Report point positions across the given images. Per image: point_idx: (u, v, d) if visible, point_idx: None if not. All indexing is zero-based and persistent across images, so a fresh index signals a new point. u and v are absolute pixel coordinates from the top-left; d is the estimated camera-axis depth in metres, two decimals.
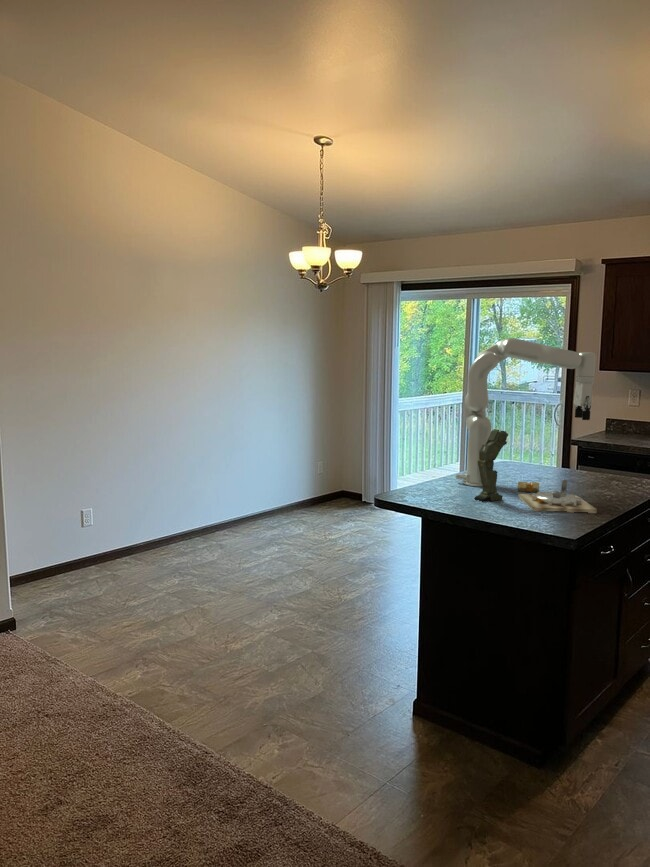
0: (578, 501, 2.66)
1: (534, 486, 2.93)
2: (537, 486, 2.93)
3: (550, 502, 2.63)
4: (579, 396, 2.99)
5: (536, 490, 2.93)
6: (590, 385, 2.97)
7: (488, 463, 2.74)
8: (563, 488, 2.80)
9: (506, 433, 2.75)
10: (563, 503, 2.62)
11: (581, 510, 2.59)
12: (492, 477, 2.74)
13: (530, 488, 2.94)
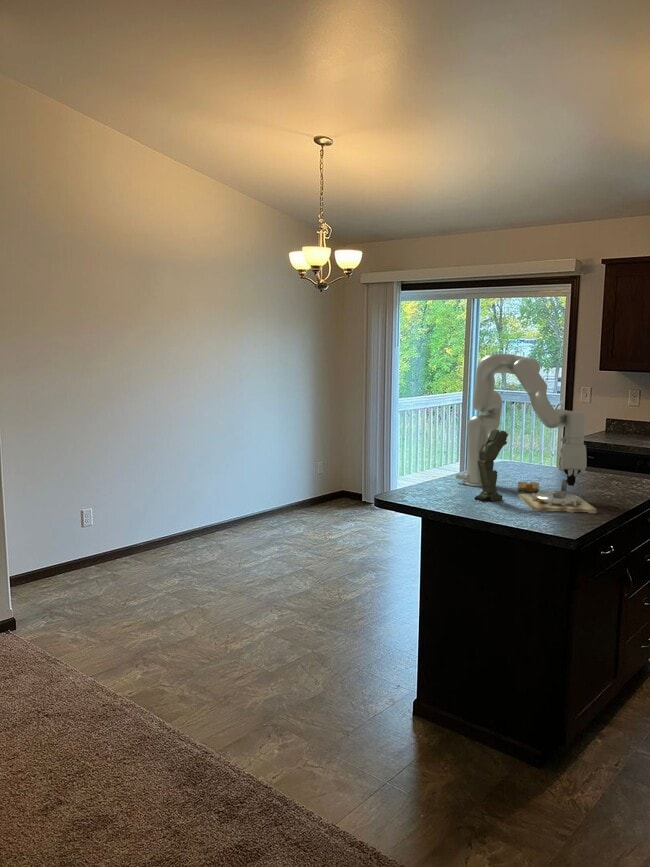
0: (578, 501, 2.66)
1: (534, 486, 2.93)
2: (537, 486, 2.93)
3: (550, 502, 2.63)
4: (581, 459, 2.77)
5: (536, 490, 2.93)
6: None
7: (488, 463, 2.74)
8: (563, 488, 2.80)
9: (506, 433, 2.75)
10: (563, 503, 2.62)
11: (581, 510, 2.59)
12: (492, 477, 2.74)
13: (530, 488, 2.94)
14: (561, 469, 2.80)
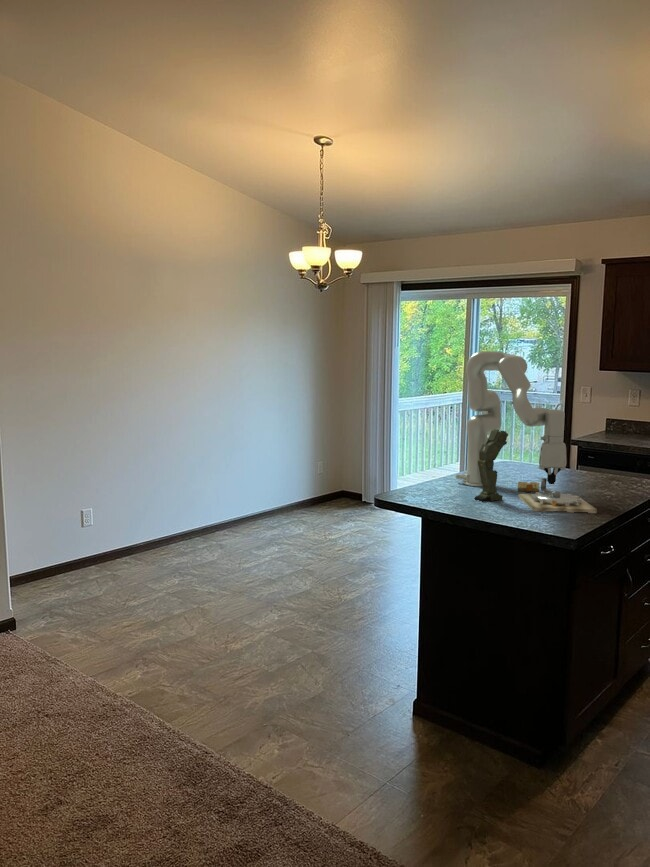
0: (577, 498, 2.72)
1: (534, 486, 2.93)
2: (537, 486, 2.93)
3: (568, 503, 2.62)
4: (561, 457, 2.77)
5: (536, 490, 2.93)
6: None
7: (488, 463, 2.74)
8: (544, 487, 2.82)
9: (506, 433, 2.75)
10: (577, 502, 2.64)
11: (581, 510, 2.59)
12: (492, 477, 2.74)
13: (530, 488, 2.94)
14: (541, 468, 2.80)
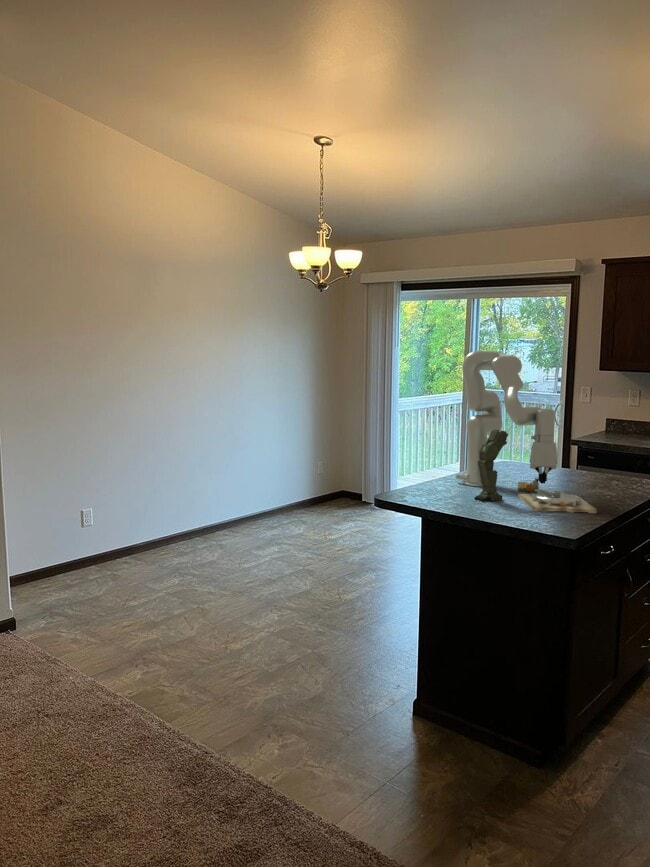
0: None
1: None
2: None
3: (575, 503, 2.63)
4: (552, 456, 2.77)
5: None
6: None
7: (488, 463, 2.74)
8: (536, 487, 2.81)
9: (506, 433, 2.75)
10: (581, 501, 2.66)
11: (581, 510, 2.59)
12: (492, 477, 2.74)
13: (530, 488, 2.94)
14: (532, 467, 2.80)
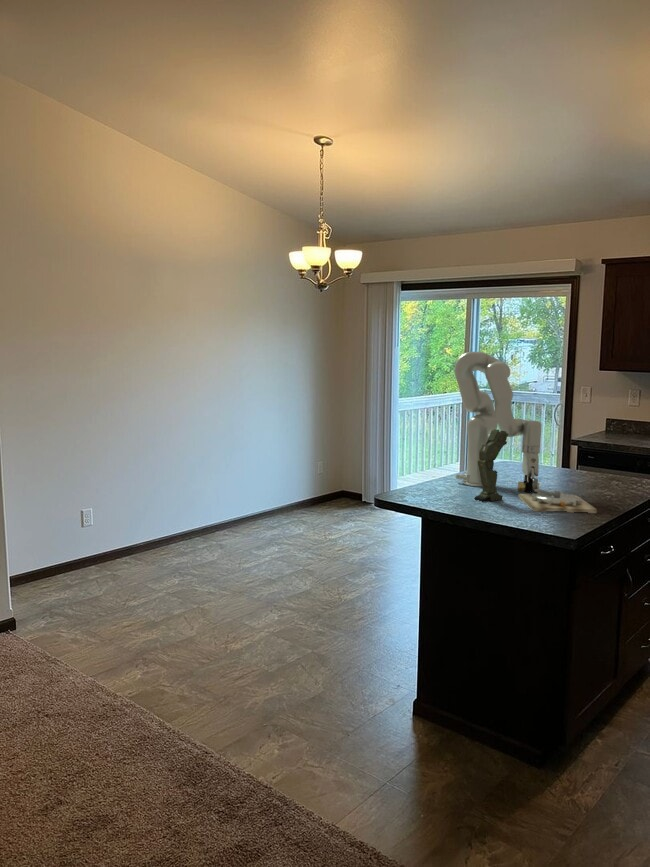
0: None
1: None
2: None
3: (575, 503, 2.63)
4: None
5: None
6: None
7: (488, 463, 2.74)
8: (536, 487, 2.81)
9: (506, 433, 2.75)
10: (581, 501, 2.66)
11: (581, 510, 2.59)
12: (492, 477, 2.74)
13: None
14: None
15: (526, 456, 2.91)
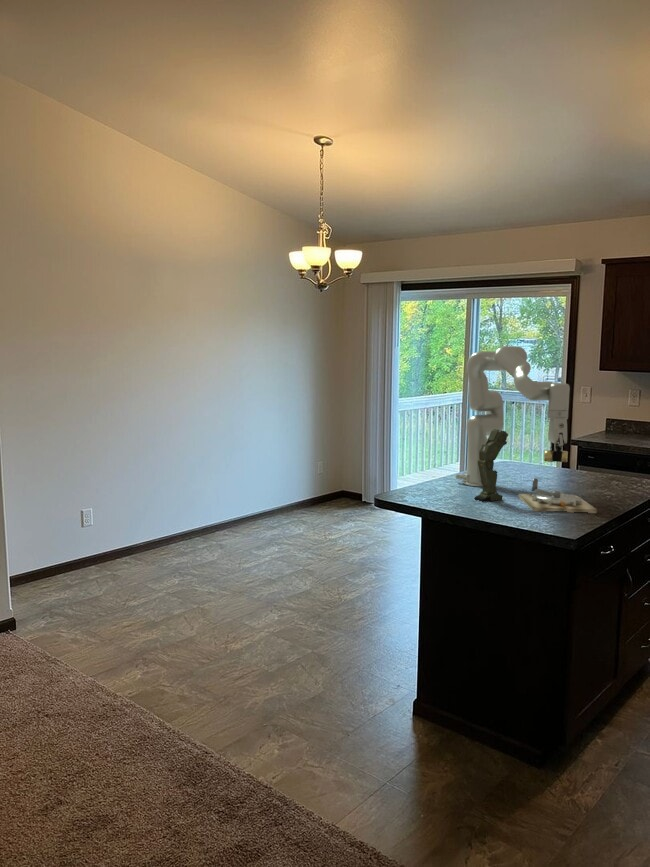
0: None
1: (562, 455, 2.68)
2: (565, 455, 2.68)
3: (575, 503, 2.63)
4: None
5: (564, 459, 2.68)
6: None
7: (488, 463, 2.74)
8: (536, 487, 2.81)
9: (506, 433, 2.75)
10: (581, 501, 2.66)
11: (581, 510, 2.59)
12: (492, 477, 2.74)
13: None
14: None
15: (553, 422, 2.66)
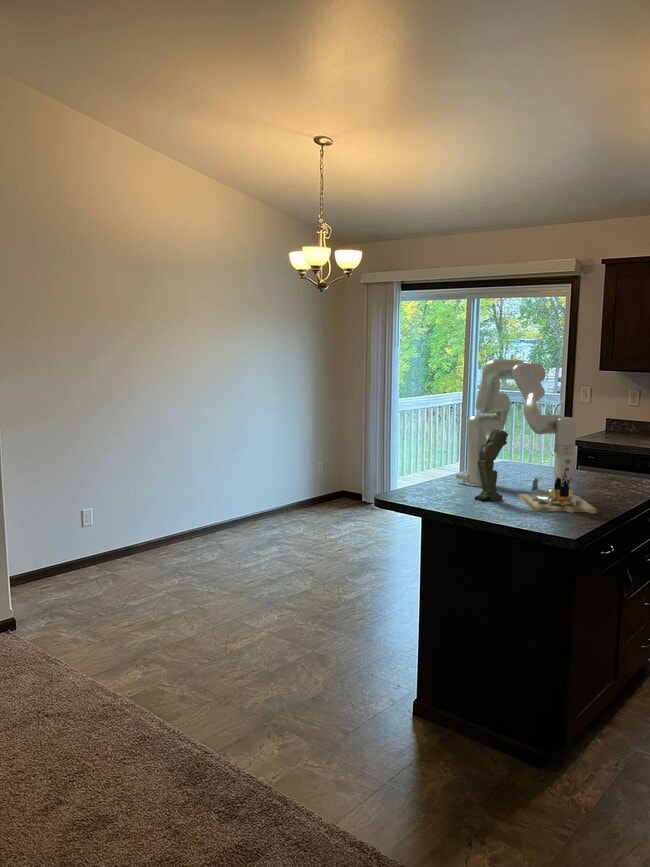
0: None
1: None
2: (570, 494, 2.63)
3: (575, 503, 2.63)
4: None
5: (569, 498, 2.63)
6: None
7: (488, 463, 2.74)
8: (536, 487, 2.81)
9: (506, 433, 2.75)
10: (581, 501, 2.66)
11: (581, 510, 2.59)
12: (492, 477, 2.74)
13: None
14: None
15: (559, 457, 2.61)
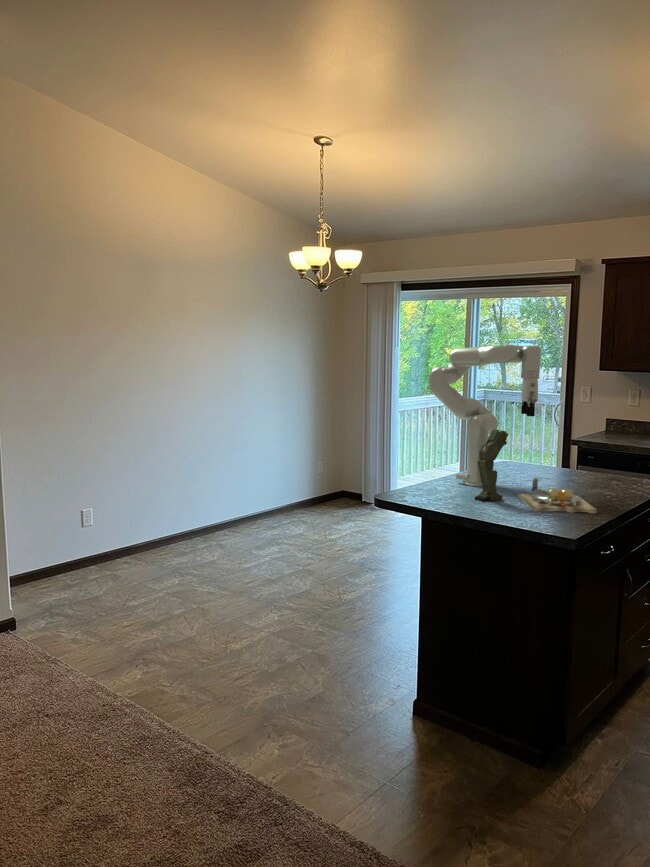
0: None
1: (567, 494, 2.63)
2: (570, 494, 2.63)
3: (575, 503, 2.63)
4: None
5: (569, 498, 2.63)
6: None
7: (488, 463, 2.74)
8: (536, 487, 2.81)
9: (506, 433, 2.75)
10: (581, 501, 2.66)
11: (581, 510, 2.59)
12: (492, 477, 2.74)
13: (562, 496, 2.63)
14: None
15: (525, 381, 2.88)
